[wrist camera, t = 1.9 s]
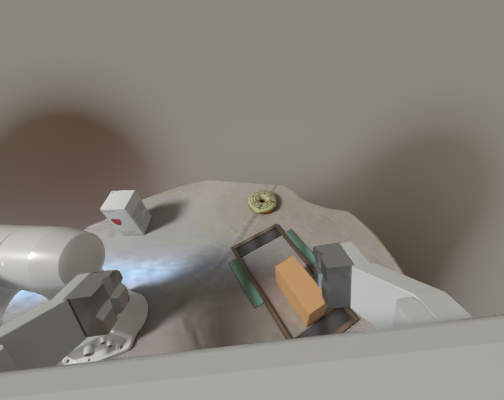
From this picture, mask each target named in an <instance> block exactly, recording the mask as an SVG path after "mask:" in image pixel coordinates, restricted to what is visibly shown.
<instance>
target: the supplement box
mask: <svg viewBox="0 0 504 400" xmlns="http://www.w3.org/2000/svg"><path fill="white" fill-rule="evenodd" d="M100 210H101V211H102V212H103V214H104V215H105V216H106V217H107V218H108V219H109V221H110V222H111V223H112V224H113V225H114V226H115V228H116V229H117V230H118V231H119V232H120V234H121V235H144V234H145V232H146V230H147V227H148V225H149V223H150V220H151V218H152V217H151V215H150V213H149V212H148V210H147V209H146V207H145V205H144V204H143V202H142V200H141V199H140V197H139V196H138V194H137V192H136V191H135V190H128V191H126V190H122V191H111V193H110V194H109V196H108V198H107V199H106V201H105V202H104V204H103V205H102V207H101V208H100Z"/></svg>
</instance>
